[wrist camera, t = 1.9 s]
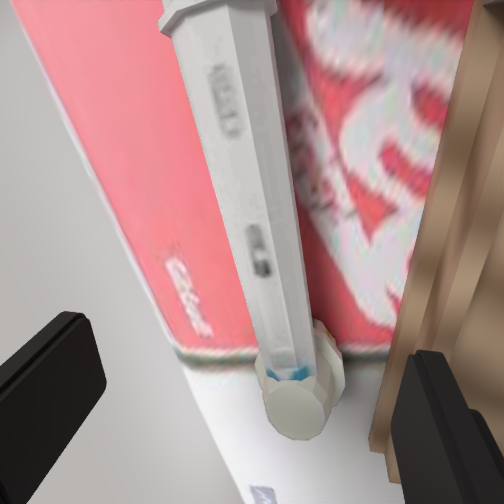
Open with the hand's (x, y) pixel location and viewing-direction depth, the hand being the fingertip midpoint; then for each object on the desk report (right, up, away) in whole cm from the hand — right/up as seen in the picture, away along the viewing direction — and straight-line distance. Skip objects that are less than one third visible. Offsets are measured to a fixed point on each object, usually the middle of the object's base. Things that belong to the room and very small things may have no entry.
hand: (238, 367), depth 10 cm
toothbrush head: (+2, +6, +9) cm, 11 cm away
